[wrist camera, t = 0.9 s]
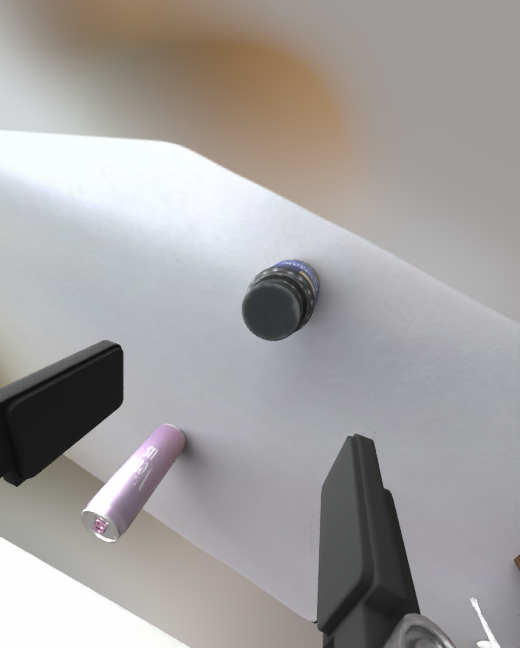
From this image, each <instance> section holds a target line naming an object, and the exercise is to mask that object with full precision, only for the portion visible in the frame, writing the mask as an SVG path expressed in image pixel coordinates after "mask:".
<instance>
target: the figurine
mask: <svg viewBox="0 0 520 648" xmlns="http://www.w3.org/2000/svg"><path fill="white" fill-rule="evenodd" d="M472 599H473V601H472ZM472 599H471V598H470V600H471V602H472V604H473V606H474V607H475V609H476V611H477V613H478V615H479V618H480V621H481V623H482V625H483V628H484V630H485V632H486V634H487V636H488V638H489V641H490V642H489V641H479V642H477V645H478V647H480V648H501V647H500V646H499V644H498V642H497V641H496V639H495V637H494V635H493V633H492V632H491V630H490V628H489V626H488V624H487V623H486V621H485V619H484V618H483V616H482V614H481V612H480V609H479V606H478V603H477V600H476V598H475V601H476V603H475V601H474V598H473V597H472Z"/></svg>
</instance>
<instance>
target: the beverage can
mask: <svg viewBox="0 0 520 648" xmlns="http://www.w3.org/2000/svg"><path fill="white" fill-rule="evenodd" d="M184 447H185V436H184V434H183V433H182V431H181V430H180V429H179V428H178V427H176V426H174V425H172V424H163V425H160V426H158V427H157V428H156V429H155V430H154V431H153V432H152V434H151V435H150V436H149V437H148V438H147V439H146V440H145V441H144V442H143V443H142V445H141V446H140V447H139V448H138V449H137V450H136V451H135V452H134V453H133V454H132V456H131V457H130V458H129V459H128V460H127V461H126V462H125V463H124V464H123V465H122V467H121V468H120V469H119V470H118V471H117V472H116V473H115V474H114V475H113V476H112V477H111V479H110V480H109V481H108V482H107V483H106V484H105V485H104V486H103V487H102V489H101V490H100V491H99V492H98V493H97V494H96V495H95V496H94V497H93V498H92V499H91V501H90V502H89V503H88V505H87V507H86V509H85V510H84V511H83V512H82V513H81V519H82V522H83V524H84V525H85V527H86V528H87V529H88V530H89V531H90V532H91V533H92V534H93V535H95V536H96V537H97V538H99V539H101V540H103V541H105V542H109V543H114V542H116V541H117V540H118V539H119V537H120V536H121V535H122V534H124V533H125V532H126V530H127V529H128V528H129V526H130V525H131V523H132V522H133V520H134V519H135V518H136V516H137V514H138V513H139V512H140V510H141V509H142V508H143V506H144V505H145V503H146V502H147V500H148V499H149V497H150V496H151V495H152V493H153V492H154V490H155V489H156V487H157V486H158V485H159V483H160V482H161V480H162V479H163V477H164V476H165V475H166V473H167V472H168V470H169V469H170V467H171V466H172V465H173V463H174V462H175V460H176V459H177V457H178V456H179V455H180V453H181V452H182V450H183V449H184Z"/></svg>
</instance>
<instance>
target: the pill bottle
mask: <svg viewBox="0 0 520 648" xmlns="http://www.w3.org/2000/svg"><path fill="white" fill-rule="evenodd" d="M318 293H319V279H318V276H317V274H316V272H315V271H314V269H313V268H312V267H311V266H310V265H308V264H307V263H305V262H303V261H300V260H286V261H282V262H280V263H278V264H276V265H274V266H272V267H270V268H268V269H266V270H264V271H262V272H261V273H259V274H258V275H257V276H256V277H255V278H254V279H253V280H252V281H251V283H250V285H249V287H248V290H247V294H246V295H245V297H244V300H243V303H242V316H243V320H244V322H245V324H246V326H247V327H248V328H249V330H250V331H251V332H252V333H253V334H255V335H256V336H258V337H260V338H262V339H265V340H270V341H277V340H282V339H284V338H287V337H288V336H290V335H291V334H292V333H294V332H296V331H298V330H299V329H301V328H302V327H303V326H304V325H305V324H306V323H307V322H308V321H309V319H310V317H311V315H312V313H313V309H314V306H315V303H316V299H317V296H318Z"/></svg>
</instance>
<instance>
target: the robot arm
mask: <svg viewBox="0 0 520 648" xmlns="http://www.w3.org/2000/svg"><path fill="white" fill-rule="evenodd" d="M122 402H123V350H122V349H121V346H120V345H119V344H116V343H113V342H111V341H108V340H104V341H101V342H99V343H97V344H95V345H93V346H90V347H88V348H86V349H84V350H82V351H80V352H78V353H75V354H73V355H71V356H69V357H67V358H65V359H63V360H60V361H58V362H56V363H54V364H52V365H50V366H47V367H45V368H43V369H41V370H39V371H37V372H35V373H32V374H30V375H28V376H26V377H24V378H22V379H20V380H17V381H15V382H13V383H11V384H9V385H7V386H5V387H2V388H0V478H1V477H3V478H4V480H5V481H7V482H9V483H11V484H13V485H15V486H16V487H18V486H19V485H20V484H21V483H23V482H24V481H25V480H26V479H29V478H32V477H34V476H36V475H37V474H38V473H40V472H41V471H42V470H43V469H44V468H46V467H47V466H48V465H49V464H51V463H52V462H53V461H54V460H55V459H57V458H58V457H59V456H60V455H62V454H63V453H64V452H65V451H66V450H68V449H69V448H70V447H71V446H73V445H74V444H75V443H76V442H77V441H79V440H80V439H81V438H82V437H84V436H85V435H86V434H87V433H88V432H90V431H91V430H92V429H93V428H95V427H96V426H97V425H98V424H99V423H101V422H102V421H103V420H104V419H106V418H107V417H108V416H109V415H111V414H112V413H113V412H114V411H115V410H117V409H118V408H119V407H120V406H121V404H122ZM317 627H318V630H319V631H321V632H323V648H456V647H455V646H454V644H453V643H452V641H451V640H450V638H449V637H448V636H447V635H446V634H445V633H444V632H443V631H442V630H441V629H440V628H439V627H438V626H437V625H436V624H435V623H433V622H432V621H431V620H429V619H428V618H427V617H425V616H422V615H421V614H420V609H419V605H418V601H417V597H416V593H415V588H414V584H413V580H412V576H411V572H410V567H409V563H408V559H407V555H406V551H405V546H404V542H403V538H402V534H401V530H400V525H399V521H398V517H397V513H396V509H395V504H394V500H393V497H392V494H391V493H390V491H389V490H387V489H385V488H383V483H382V478H381V473H380V469H379V464H378V459H377V454H376V450H375V445H374V441H373V440H372V439H369V438H366V437H364V436H361V435H358V434H355V435H354V436H353V437H351V436H348V437H347V439H346V441H345V443H344V445H343V446H342V448H341V450H340V452H339V454H338V456H337V458H336V460H335V462H334V464H333V466H332V468H331V470H330V472H329V474H328V476H327V478H326V480H325V482H324V484H323V487H322V492H321V517H320V545H319V574H318V603H317ZM0 648H190V647H189V646H187V645H185V644H183V643H181V642H180V641H178V640H177V639H175V638H173V637H172V636H170V635H168V634H167V633H165V632H163V631H161V630H160V629H158V628H156V627H154V626H153V625H151V624H150V623H148V622H146V621H144V620H143V619H141V618H139V617H138V616H136V615H134V614H132V613H131V612H129V611H127V610H126V609H124V608H122V607H121V606H119V605H117V604H116V603H114V602H112V601H110V600H108V599H107V598H105V597H103V596H102V595H100V594H98V593H96V592H95V591H93V590H91V589H90V588H88V587H86V586H84V585H83V584H81V583H79V582H78V581H76V580H74V579H73V578H71V577H69V576H67V575H66V574H64V573H62V572H60V571H58V570H57V569H55V568H54V567H52V566H50V565H48V564H47V563H45V562H43V561H41V560H40V559H38V558H36V557H35V556H33V555H31V554H29V553H27V552H26V551H24V550H22V549H21V548H19V547H17V546H15V545H14V544H12V543H10V542H8V541H7V540H5V539H3V538H2V537H0Z"/></svg>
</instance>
